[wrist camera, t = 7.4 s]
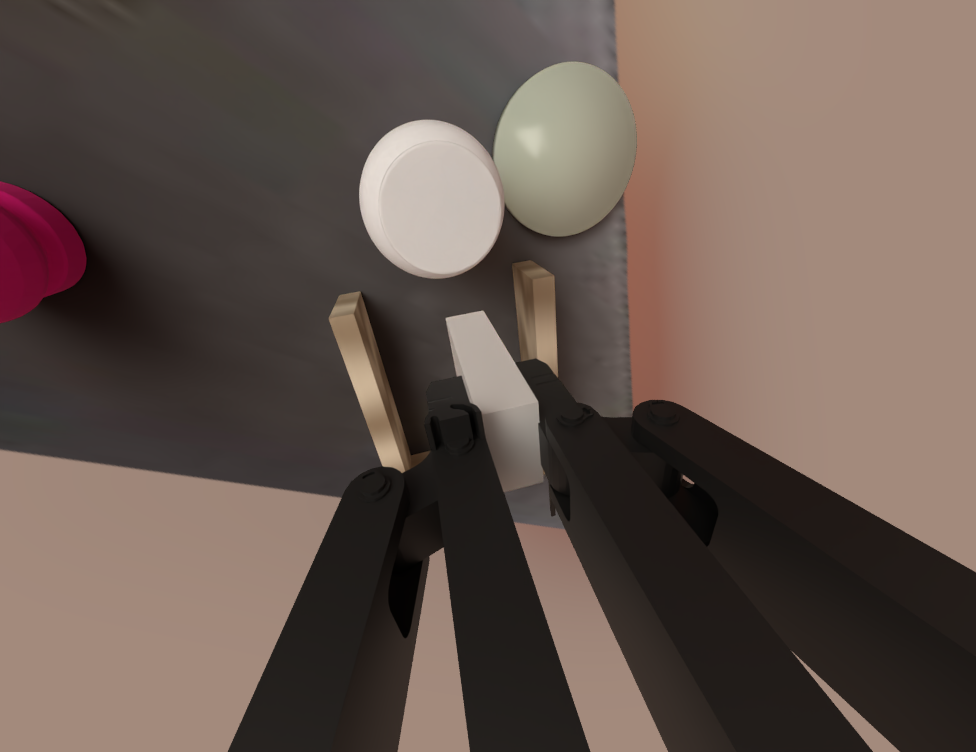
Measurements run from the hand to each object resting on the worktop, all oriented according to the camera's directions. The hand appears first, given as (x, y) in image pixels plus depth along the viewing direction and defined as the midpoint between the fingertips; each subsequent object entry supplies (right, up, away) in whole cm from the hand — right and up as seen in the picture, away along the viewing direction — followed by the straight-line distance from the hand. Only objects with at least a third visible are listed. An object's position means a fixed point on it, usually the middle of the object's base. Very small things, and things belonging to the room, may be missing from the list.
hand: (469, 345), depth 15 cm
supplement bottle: (-4, +11, +10) cm, 16 cm away
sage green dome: (+6, +14, +11) cm, 18 cm away
